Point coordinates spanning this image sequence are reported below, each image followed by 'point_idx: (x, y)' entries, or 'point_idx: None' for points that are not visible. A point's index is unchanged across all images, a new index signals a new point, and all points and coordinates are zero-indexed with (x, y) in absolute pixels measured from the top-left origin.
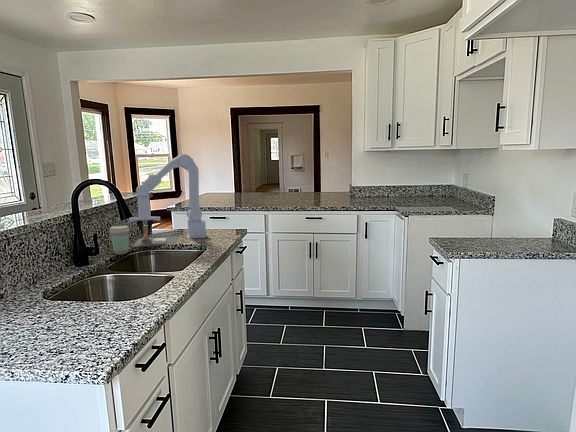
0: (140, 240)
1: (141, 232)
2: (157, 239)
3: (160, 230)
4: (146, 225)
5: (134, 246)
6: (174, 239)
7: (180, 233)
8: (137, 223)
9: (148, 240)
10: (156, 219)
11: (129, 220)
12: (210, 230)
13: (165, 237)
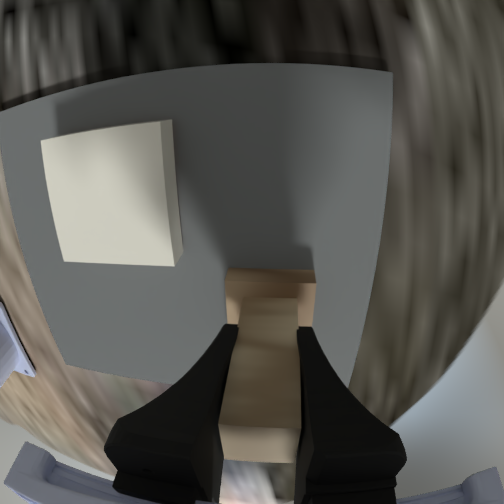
0: (331, 339)
1: (319, 349)
2: (121, 206)
3: (236, 499)
4: (244, 447)
5: (369, 73)
6: (48, 289)
7: (107, 435)
8: (395, 446)
9: (243, 275)
10: (66, 481)
11: (502, 486)
12: (15, 417)
13: (138, 374)
